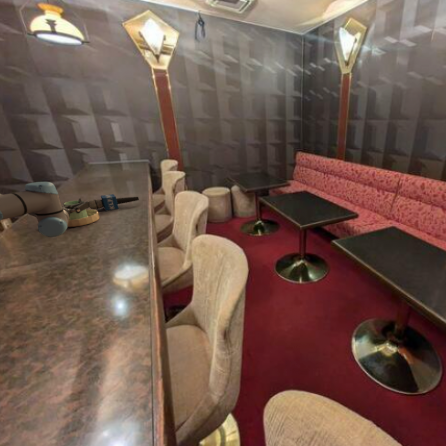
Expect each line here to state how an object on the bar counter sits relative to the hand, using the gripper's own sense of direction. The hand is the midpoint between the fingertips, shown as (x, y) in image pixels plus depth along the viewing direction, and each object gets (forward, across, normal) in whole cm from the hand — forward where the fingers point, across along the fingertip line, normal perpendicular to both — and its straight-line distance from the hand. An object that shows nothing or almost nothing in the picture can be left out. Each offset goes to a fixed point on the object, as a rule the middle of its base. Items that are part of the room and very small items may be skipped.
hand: (61, 203), depth 115 cm
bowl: (+11, +3, -13) cm, 17 cm away
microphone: (+29, +20, -14) cm, 38 cm away
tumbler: (+11, +3, -13) cm, 17 cm away
